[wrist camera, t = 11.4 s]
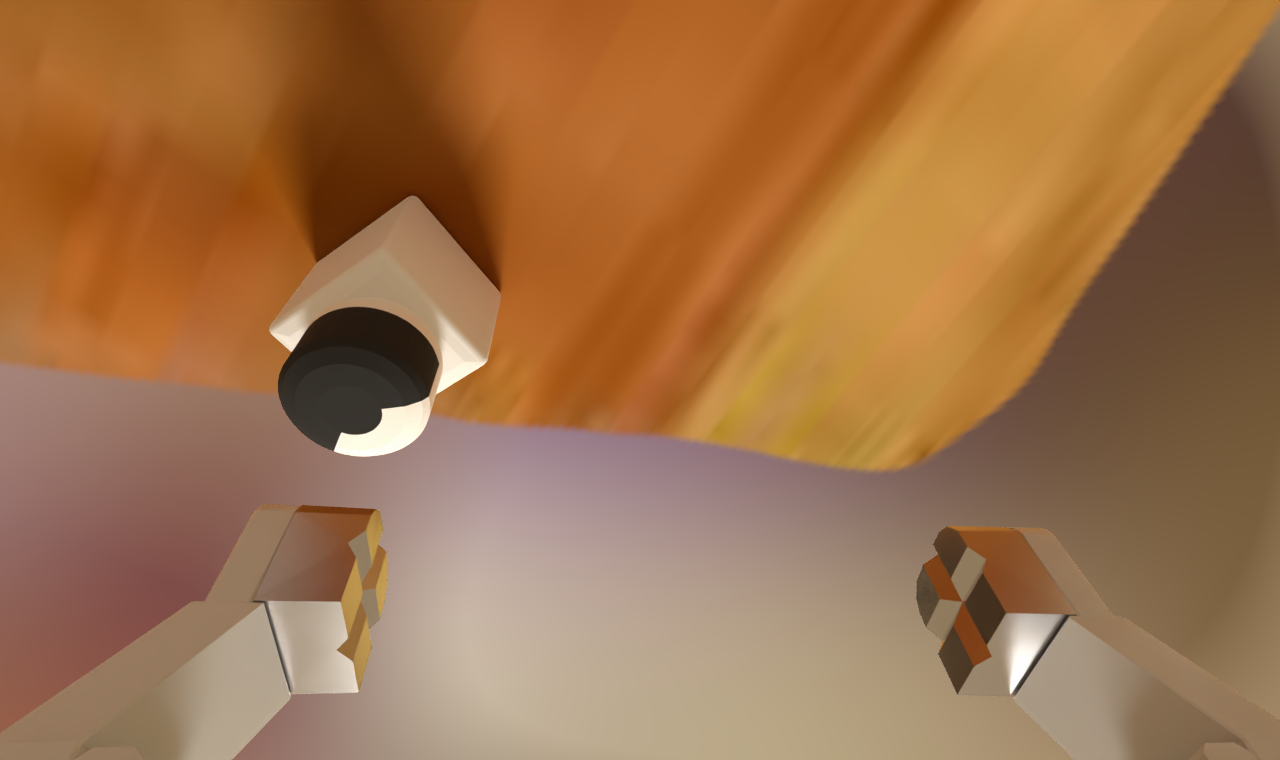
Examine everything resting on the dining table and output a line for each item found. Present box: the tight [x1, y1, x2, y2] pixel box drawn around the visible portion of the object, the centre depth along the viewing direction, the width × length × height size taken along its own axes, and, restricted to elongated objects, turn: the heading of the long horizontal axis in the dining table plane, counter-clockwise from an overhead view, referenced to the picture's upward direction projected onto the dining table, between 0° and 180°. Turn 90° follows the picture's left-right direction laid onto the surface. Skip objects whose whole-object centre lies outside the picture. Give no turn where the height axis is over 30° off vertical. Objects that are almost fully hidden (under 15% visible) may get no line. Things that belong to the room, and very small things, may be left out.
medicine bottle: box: [269, 196, 501, 456], centre depth 34 cm, size 7×7×12 cm
